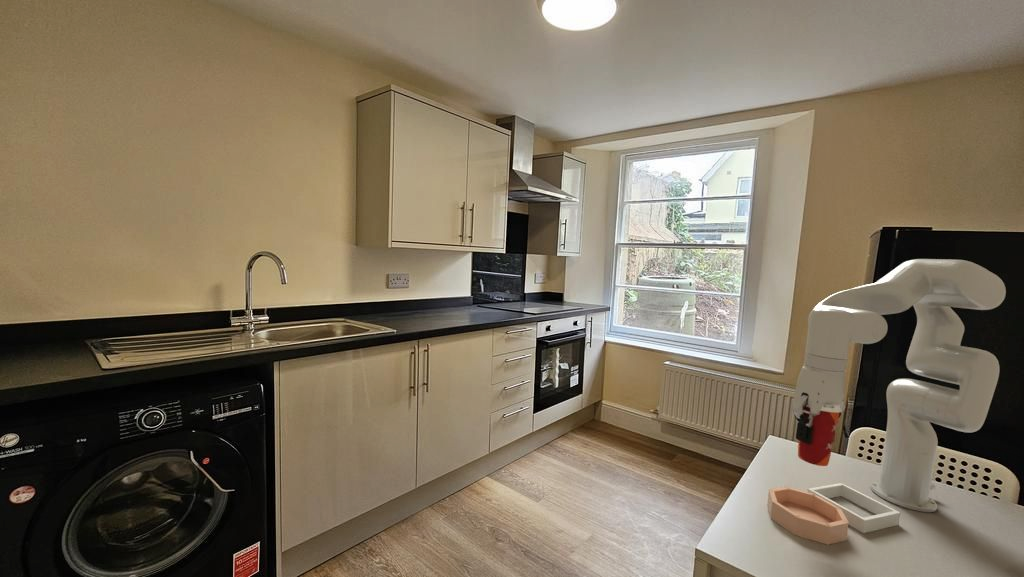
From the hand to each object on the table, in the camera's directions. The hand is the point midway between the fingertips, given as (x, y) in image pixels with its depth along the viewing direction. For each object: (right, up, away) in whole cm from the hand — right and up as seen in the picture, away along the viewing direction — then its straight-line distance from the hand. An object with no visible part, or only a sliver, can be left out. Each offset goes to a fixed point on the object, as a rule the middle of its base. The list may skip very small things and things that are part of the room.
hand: (814, 439), depth 91 cm
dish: (-1, -19, +1) cm, 20 cm away
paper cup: (0, -5, 0) cm, 5 cm away
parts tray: (+14, -20, +7) cm, 25 cm away
